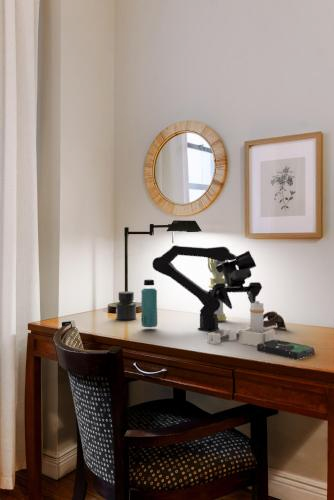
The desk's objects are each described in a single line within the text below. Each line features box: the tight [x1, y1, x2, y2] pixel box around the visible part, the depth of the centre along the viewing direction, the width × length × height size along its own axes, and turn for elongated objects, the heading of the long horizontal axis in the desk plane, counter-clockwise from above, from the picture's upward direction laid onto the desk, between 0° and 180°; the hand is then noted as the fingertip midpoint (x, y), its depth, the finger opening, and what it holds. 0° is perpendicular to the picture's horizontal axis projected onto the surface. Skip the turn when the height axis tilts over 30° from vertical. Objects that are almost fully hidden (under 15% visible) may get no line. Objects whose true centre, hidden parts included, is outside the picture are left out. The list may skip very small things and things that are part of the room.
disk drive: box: [256, 339, 315, 360], centre depth 140 cm, size 10×3×15 cm
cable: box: [212, 332, 239, 342], centre depth 158 cm, size 5×20×1 cm, turn 112°
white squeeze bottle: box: [249, 300, 265, 333], centre depth 153 cm, size 5×5×14 cm
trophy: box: [207, 258, 229, 322], centre depth 193 cm, size 8×8×30 cm
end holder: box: [238, 326, 275, 347], centre depth 153 cm, size 9×9×4 cm
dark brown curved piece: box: [263, 310, 287, 331], centre depth 176 cm, size 12×10×8 cm
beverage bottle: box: [140, 279, 158, 328], centre depth 175 cm, size 6×7×20 cm
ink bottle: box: [115, 291, 137, 321], centre depth 198 cm, size 10×9×12 cm
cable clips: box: [207, 326, 250, 345], centre depth 158 cm, size 4×21×3 cm, turn 125°
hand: (243, 307), depth 161 cm, fingers open, 9 cm apart
